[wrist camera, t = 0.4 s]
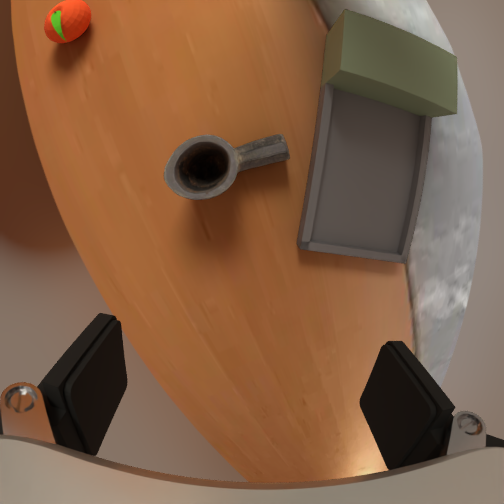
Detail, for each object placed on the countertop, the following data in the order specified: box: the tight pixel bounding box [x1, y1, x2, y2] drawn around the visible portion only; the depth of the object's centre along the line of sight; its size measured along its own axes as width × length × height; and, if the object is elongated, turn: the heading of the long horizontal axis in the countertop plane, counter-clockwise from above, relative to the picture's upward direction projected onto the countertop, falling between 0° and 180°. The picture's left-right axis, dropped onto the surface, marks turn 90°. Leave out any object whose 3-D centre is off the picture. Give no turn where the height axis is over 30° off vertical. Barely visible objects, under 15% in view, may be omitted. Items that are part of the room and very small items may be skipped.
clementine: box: [44, 0, 91, 43], centre depth 24 cm, size 8×7×7 cm
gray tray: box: [297, 9, 457, 264], centre depth 30 cm, size 28×15×8 cm, turn 172°
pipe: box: [164, 134, 290, 200], centre depth 30 cm, size 6×13×8 cm, turn 107°
